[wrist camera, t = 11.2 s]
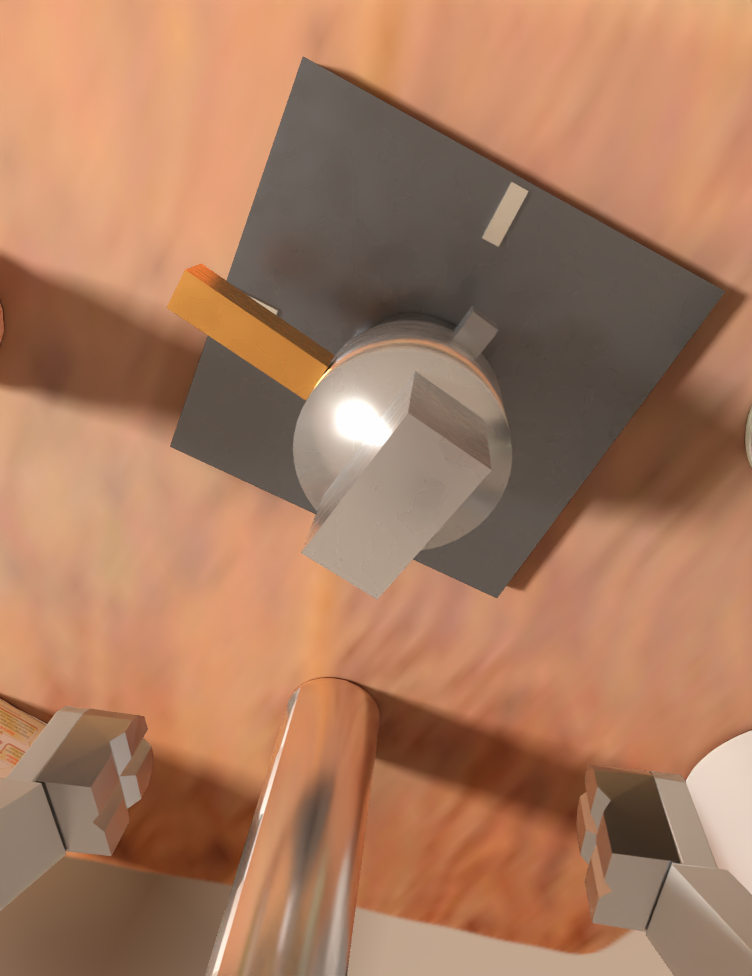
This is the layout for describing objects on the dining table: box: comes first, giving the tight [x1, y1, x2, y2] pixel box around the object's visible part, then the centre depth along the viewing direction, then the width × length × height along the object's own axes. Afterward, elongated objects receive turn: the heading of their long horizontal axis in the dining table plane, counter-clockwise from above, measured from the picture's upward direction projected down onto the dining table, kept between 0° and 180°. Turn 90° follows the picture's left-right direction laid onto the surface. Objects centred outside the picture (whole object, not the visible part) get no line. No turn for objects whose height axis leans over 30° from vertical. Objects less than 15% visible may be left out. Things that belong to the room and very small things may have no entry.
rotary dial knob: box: [167, 264, 512, 599], centre depth 22 cm, size 14×10×9 cm
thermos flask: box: [205, 678, 380, 976], centre depth 32 cm, size 6×6×25 cm
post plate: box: [170, 57, 725, 598], centre depth 29 cm, size 20×19×5 cm
